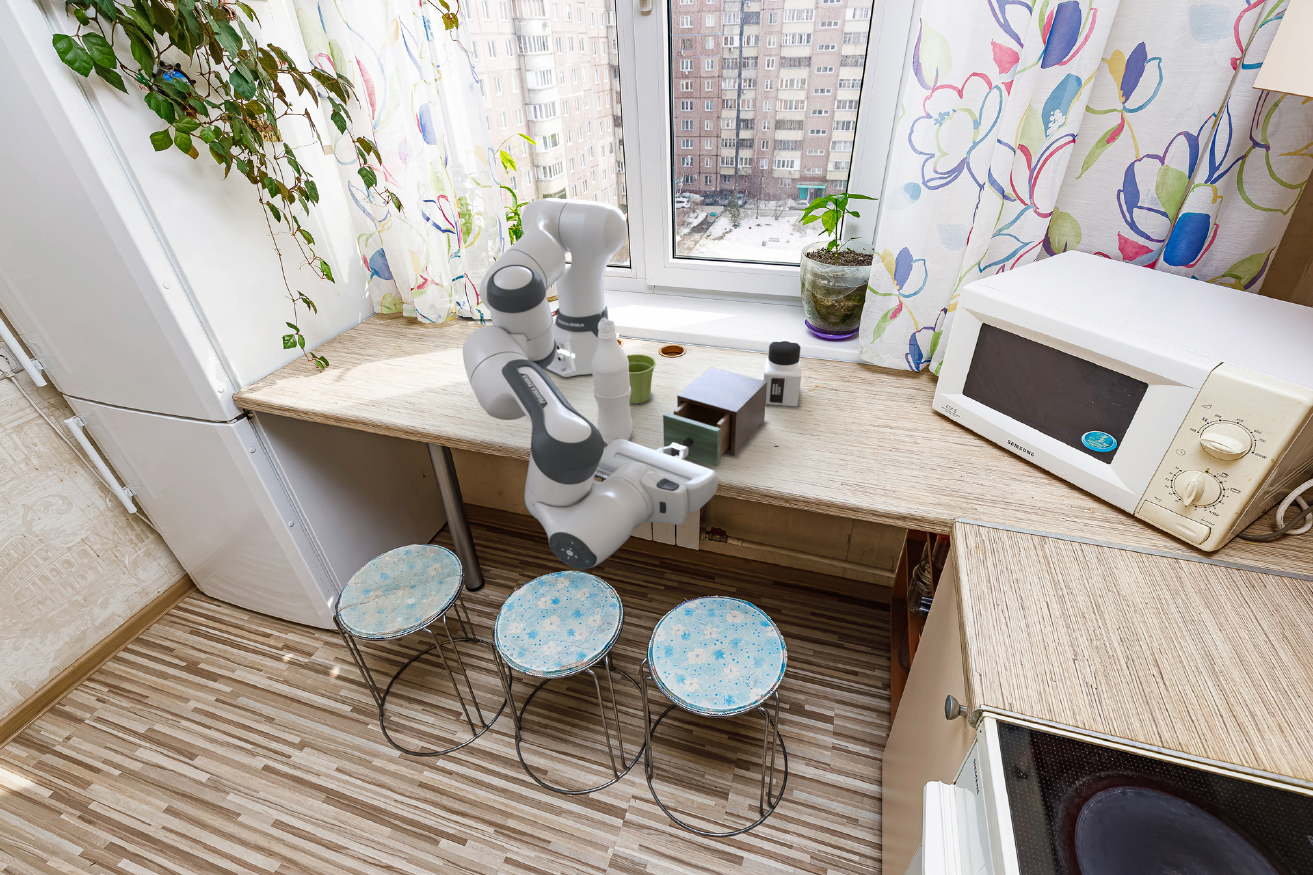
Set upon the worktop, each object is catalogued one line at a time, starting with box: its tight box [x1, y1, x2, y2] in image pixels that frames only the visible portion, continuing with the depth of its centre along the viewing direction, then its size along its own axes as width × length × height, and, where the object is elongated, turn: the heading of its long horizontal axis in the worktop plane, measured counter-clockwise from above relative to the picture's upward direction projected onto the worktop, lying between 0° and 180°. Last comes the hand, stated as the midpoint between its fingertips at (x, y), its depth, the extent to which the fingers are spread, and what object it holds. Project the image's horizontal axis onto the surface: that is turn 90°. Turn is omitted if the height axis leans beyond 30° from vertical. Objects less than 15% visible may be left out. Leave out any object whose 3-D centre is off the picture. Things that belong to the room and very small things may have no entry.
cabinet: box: [676, 367, 767, 456], centre depth 121 cm, size 14×13×10 cm
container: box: [763, 339, 802, 407], centre depth 131 cm, size 8×8×13 cm
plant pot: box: [626, 353, 657, 405], centre depth 134 cm, size 9×9×9 cm
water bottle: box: [591, 319, 634, 446], centre depth 115 cm, size 7×7×25 cm
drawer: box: [662, 402, 732, 468], centre depth 116 cm, size 14×12×8 cm
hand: (681, 447), depth 103 cm, fingers closed
